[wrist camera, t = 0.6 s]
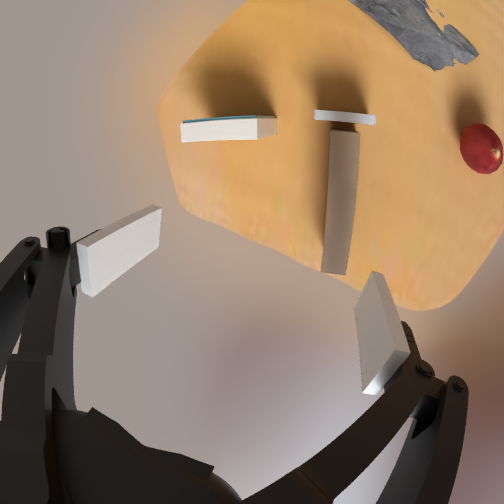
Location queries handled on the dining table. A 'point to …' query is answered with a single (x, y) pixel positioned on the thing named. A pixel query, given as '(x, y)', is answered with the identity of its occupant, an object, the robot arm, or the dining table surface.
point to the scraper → (341, 189)
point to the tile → (228, 128)
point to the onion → (481, 148)
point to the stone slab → (419, 32)
